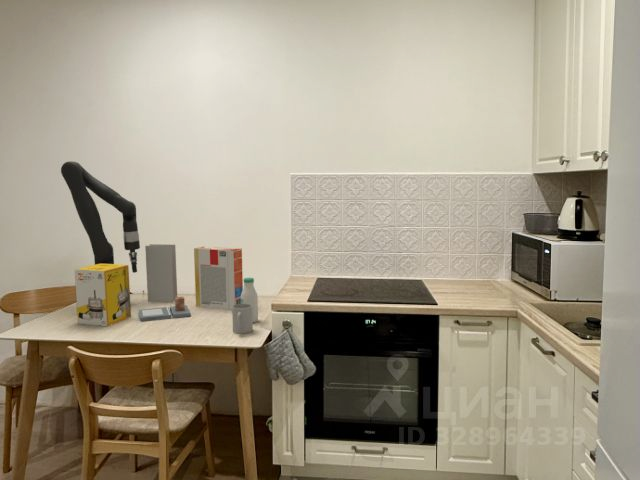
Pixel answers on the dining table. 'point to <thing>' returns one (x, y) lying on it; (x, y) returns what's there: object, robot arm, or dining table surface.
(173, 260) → the plain grey carton
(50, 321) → the dining table surface
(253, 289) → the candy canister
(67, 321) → the dining table surface
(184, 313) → the blue-grey two-tone fixture
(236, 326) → the mug
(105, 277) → the packaging box
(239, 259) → the pasta box
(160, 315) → the blue-grey display panel
